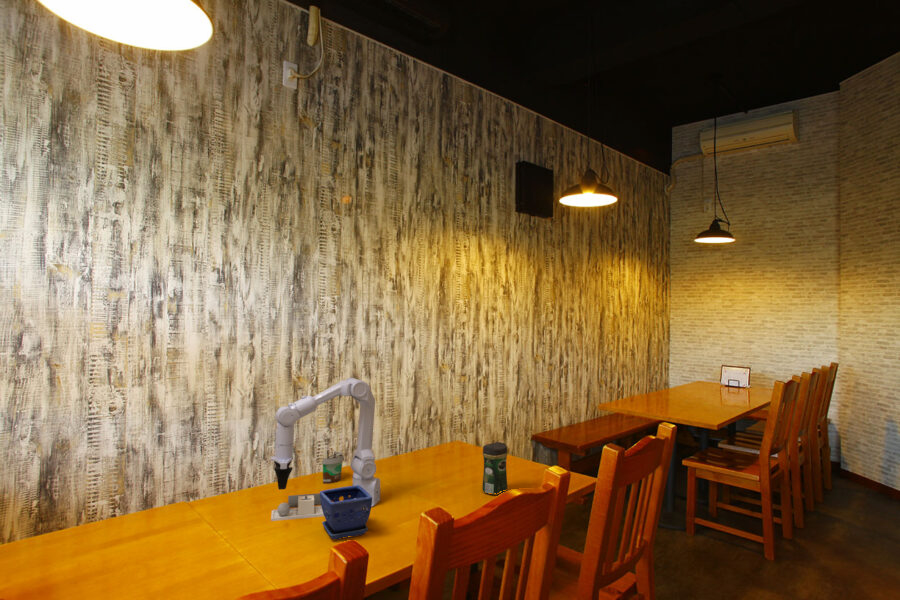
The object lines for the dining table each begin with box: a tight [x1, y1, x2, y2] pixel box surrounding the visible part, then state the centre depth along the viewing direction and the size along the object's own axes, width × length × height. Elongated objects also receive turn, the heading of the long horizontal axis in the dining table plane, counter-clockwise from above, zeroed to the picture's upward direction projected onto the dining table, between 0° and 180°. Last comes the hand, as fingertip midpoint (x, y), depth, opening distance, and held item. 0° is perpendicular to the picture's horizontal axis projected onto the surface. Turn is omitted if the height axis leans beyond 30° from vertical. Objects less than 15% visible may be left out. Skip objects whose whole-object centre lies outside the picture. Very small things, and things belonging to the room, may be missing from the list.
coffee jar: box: [481, 441, 508, 495], centre depth 199 cm, size 10×8×19 cm
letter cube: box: [297, 495, 315, 516], centre depth 173 cm, size 5×5×5 cm
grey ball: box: [277, 502, 291, 516], centre depth 171 cm, size 4×4×4 cm
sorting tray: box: [270, 505, 324, 522], centre depth 173 cm, size 22×8×1 cm, turn 107°
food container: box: [321, 451, 345, 485], centre depth 210 cm, size 12×6×10 cm, turn 168°
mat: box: [287, 492, 321, 508], centre depth 185 cm, size 11×11×1 cm
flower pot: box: [319, 485, 372, 540], centre depth 159 cm, size 13×13×12 cm
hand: (281, 485), depth 171 cm, fingers open, 7 cm apart
